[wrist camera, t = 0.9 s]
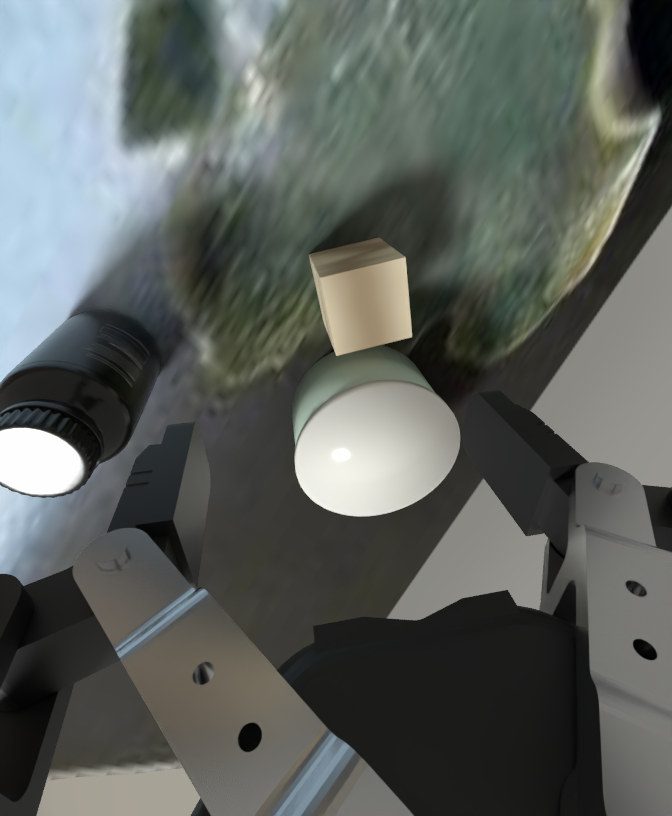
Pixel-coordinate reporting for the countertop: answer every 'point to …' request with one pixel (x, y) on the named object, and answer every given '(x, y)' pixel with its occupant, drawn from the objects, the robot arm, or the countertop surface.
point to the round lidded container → (370, 433)
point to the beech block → (362, 295)
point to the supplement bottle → (74, 402)
